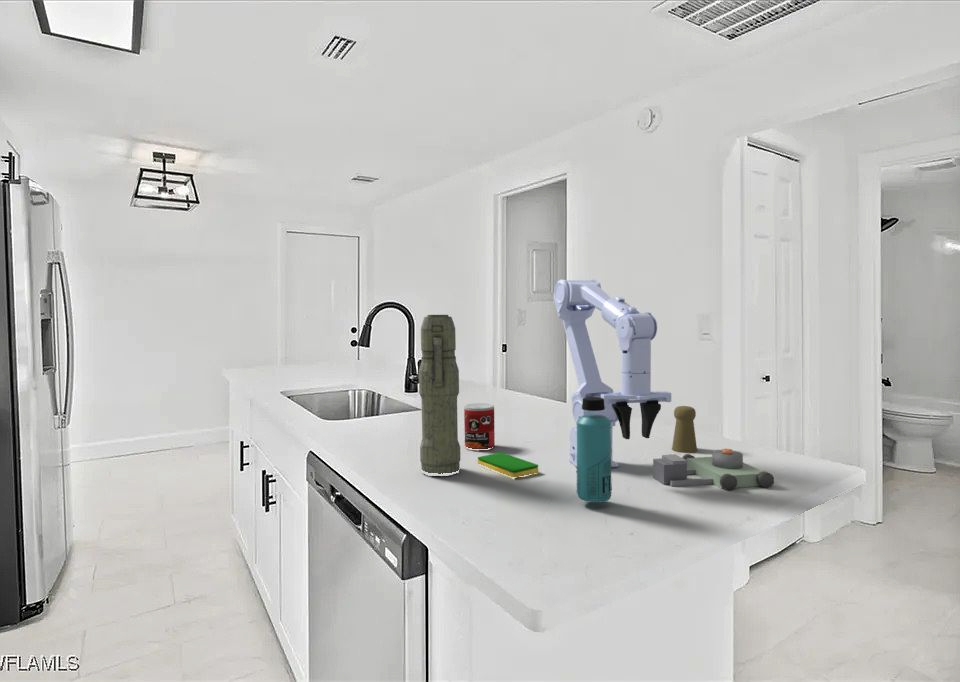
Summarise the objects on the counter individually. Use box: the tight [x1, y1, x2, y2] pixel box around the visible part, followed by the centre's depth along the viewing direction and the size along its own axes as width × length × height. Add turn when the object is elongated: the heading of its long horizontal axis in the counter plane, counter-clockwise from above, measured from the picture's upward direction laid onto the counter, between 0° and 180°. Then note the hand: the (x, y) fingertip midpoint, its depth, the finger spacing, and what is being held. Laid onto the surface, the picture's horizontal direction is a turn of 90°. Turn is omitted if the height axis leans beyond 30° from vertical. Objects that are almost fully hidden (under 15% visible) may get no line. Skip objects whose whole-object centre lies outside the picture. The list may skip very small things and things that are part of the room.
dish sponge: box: [477, 452, 539, 477], centre depth 134 cm, size 7×14×2 cm, turn 34°
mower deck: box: [669, 448, 775, 491], centre depth 125 cm, size 20×17×6 cm
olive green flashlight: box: [418, 314, 461, 474], centre depth 132 cm, size 9×12×35 cm
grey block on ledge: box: [652, 454, 688, 485], centre depth 124 cm, size 5×5×5 cm
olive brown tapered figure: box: [671, 405, 698, 454], centre depth 149 cm, size 6×6×11 cm
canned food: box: [463, 402, 496, 449], centre depth 154 cm, size 8×8×11 cm
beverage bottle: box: [575, 397, 613, 503], centre depth 109 cm, size 6×7×20 cm
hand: (635, 437), depth 122 cm, fingers open, 4 cm apart
